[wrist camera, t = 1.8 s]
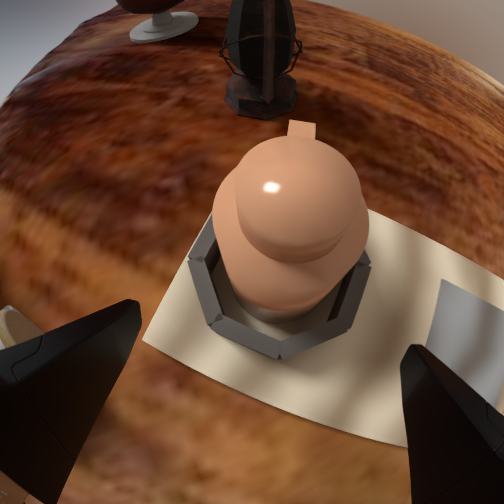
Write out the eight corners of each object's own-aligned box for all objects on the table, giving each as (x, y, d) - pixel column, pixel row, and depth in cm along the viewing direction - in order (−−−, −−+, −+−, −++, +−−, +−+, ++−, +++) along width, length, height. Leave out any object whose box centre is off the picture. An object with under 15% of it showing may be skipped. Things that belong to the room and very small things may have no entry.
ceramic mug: (83, 375, 19) (18, 369, 12) (41, 432, 16) (-20, 439, 9) (25, 290, 21) (-30, 261, 14) (-10, 346, 19) (-65, 331, 12)
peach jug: (318, 330, 19) (388, 286, 8) (222, 314, 19) (182, 254, 9) (330, 207, 22) (374, 95, 12) (247, 194, 22) (241, 74, 12)
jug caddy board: (149, 341, 20) (123, 334, 16) (244, 170, 25) (241, 135, 21) (474, 456, 15) (505, 464, 11) (515, 297, 20) (544, 284, 16)
